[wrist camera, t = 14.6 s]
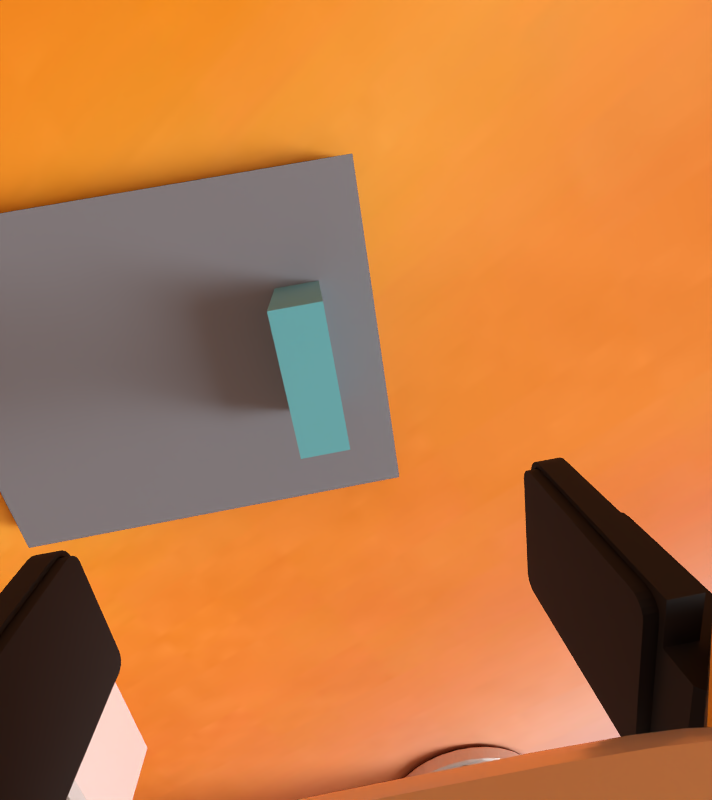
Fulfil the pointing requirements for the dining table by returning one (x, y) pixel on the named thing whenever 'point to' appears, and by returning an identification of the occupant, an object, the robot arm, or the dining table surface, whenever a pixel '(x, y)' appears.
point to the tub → (111, 756)
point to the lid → (188, 351)
